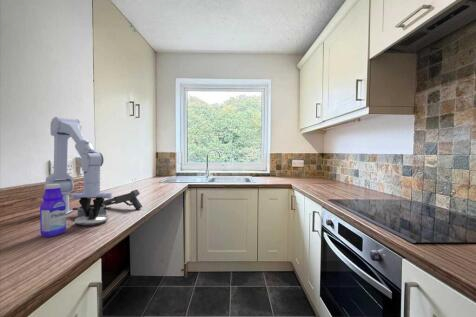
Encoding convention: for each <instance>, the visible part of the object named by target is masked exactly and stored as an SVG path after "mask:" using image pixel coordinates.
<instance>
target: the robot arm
mask: <svg viewBox="0 0 476 317" xmlns="http://www.w3.org/2000/svg"><path fill="white" fill-rule="evenodd" d="M50 136H53V138H54V139H53V172H52V173H51V174H49V175H48V176H46V178H45V182H44V186H43V187H44V190H45V185H47V184H60V190H61V193H62V195H63V198H62V199H63V200H64V202H65V204H66V215H67V214H70V213H72V212H74V210H72V209H71V210H70V199H71V200H75V199H79V200H78V202H79V204H80V206H82V207H83V210H84V212H85V216H86V217H88V208H90V205H91V202H93V204H94V217H97V216H98V214H99V210H100V207H101V205H102V203H103V201H104V200H105V199H107V200H108V199H112V198H113V192H101V167H103V165H104V156H103V154H102V153H101V152H99V151H97V150H96V149H95V147H94V146H93V145H92V143H91V142H90V140H88V139H86V137H85V136H84V135H83V133H82V123H81V120H80V119H78V118H77V119H76V118H75V119H74V118H66V117H57V116H54V117H53V118H51V121H50ZM70 138H71V139H72V140H73V141H74V144H75V145H74V148H75V150H76V151H77V153H78V155H79V156H80V159H79V160H80V165H81V170H82V172H83V192H77V193H75V192H74V193H72V192H73V190H74V186H75V184H74V181H73V176H72V175H71V174H69V173H68V150H69V149H68V141H69V139H70ZM92 199H93V200H92ZM42 202H43V199H42ZM42 202H41V203H42Z"/></svg>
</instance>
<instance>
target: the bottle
mask: <svg viewBox="0 0 476 317" xmlns="http://www.w3.org/2000/svg"><path fill="white" fill-rule="evenodd" d="M44 185H45V184H44ZM41 198H42V200H43V202H41V204H40V206H39V219H40V221H39V222H40V223H39V226H40V227H39V228H40V231H39V232H40V235H41V236H42V237H47V238H50V237H54V236H55V237H56V236H58V235H61V234H63V233H65V232H66V230H67V217H66V216H67V214H66V204H65V202H64V200H63V199H62V198H63V195H62V193H61V190H60V184H47V185H45V189H44V194H43V196H42V197H41Z"/></svg>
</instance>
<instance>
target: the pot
mask: <svg viewBox="0 0 476 317" xmlns="http://www.w3.org/2000/svg"><path fill="white" fill-rule="evenodd" d="M91 207H94V203H93V204H91V203H90V208H91ZM111 209H112V207H111V206H106V205H103V204H102V205H101V207H100V210H99V214H104V215H107V210H111ZM71 210H73V211H77V212H76V213H77V216H76V218H78V217H81V216H85V212H84V210H83V207H82V206H81V205H80V206H78V207H72V209H71Z"/></svg>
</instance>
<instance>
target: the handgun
mask: <svg viewBox="0 0 476 317" xmlns="http://www.w3.org/2000/svg"><path fill="white" fill-rule="evenodd" d="M140 194H141V193H140V191H139V190H138V189H134V190H132V191H130V192H129V193H128V192H127V193H125V194H121V195H118V196H113V197H112V198H110V199H108V198H107V199H104V201H103V203H102V204H103V205H106V207H109V206H112V205H116V204H117V205H118V204H121V203H123V204H126V205H127V206H129V207H130V206H133V207H134V208H135V210H136V211H138V210H140V209H142V207H144V206H143V205H142V203H141V202H140V201H139V199H138V196H139V195H140Z"/></svg>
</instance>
